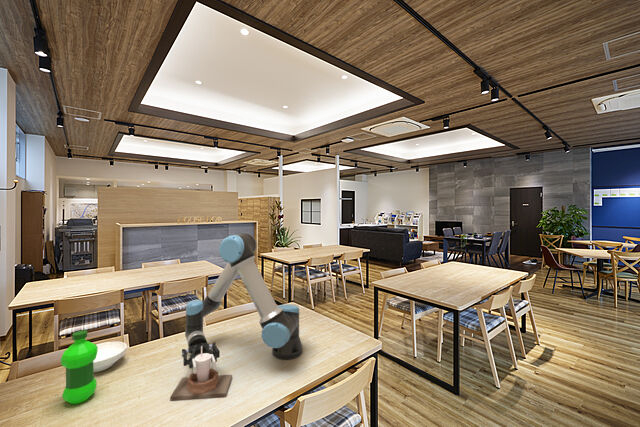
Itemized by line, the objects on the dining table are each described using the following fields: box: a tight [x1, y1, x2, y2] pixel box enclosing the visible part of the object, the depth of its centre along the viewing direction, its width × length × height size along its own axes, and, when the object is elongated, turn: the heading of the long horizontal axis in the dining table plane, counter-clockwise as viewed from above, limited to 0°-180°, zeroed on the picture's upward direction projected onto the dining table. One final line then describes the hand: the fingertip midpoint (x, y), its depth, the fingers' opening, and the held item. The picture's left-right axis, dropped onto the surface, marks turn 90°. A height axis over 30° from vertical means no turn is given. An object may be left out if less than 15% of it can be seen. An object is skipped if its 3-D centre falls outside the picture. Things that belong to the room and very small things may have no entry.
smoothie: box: [194, 346, 212, 383], centre depth 111 cm, size 6×6×14 cm
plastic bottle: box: [60, 329, 98, 405], centre depth 104 cm, size 10×10×25 cm
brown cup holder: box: [169, 368, 233, 402], centre depth 111 cm, size 20×12×5 cm, turn 97°
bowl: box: [93, 341, 128, 373], centre depth 126 cm, size 20×20×7 cm
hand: (205, 367), depth 106 cm, fingers closed on smoothie, 6 cm apart
